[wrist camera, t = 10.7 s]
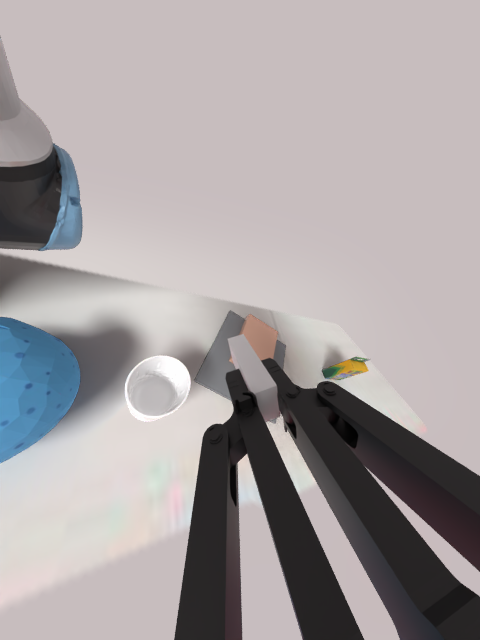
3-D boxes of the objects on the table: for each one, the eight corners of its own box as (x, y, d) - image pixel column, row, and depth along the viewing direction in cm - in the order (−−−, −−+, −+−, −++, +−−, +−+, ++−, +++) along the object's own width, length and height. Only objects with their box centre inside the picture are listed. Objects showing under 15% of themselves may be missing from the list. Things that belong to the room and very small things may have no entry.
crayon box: (324, 379, 54) (360, 366, 46) (321, 369, 56) (355, 355, 48) (339, 380, 57) (375, 369, 49) (336, 371, 59) (370, 358, 51)
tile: (233, 356, 39) (249, 313, 49) (228, 361, 40) (245, 318, 51) (269, 378, 40) (278, 331, 51) (263, 381, 42) (272, 335, 52)
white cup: (150, 367, 32) (157, 344, 25) (184, 392, 33) (201, 376, 26) (111, 407, 27) (107, 392, 20) (154, 436, 27) (164, 431, 20)
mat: (193, 380, 35) (194, 380, 34) (229, 311, 50) (230, 310, 50) (274, 423, 38) (275, 423, 38) (284, 346, 53) (285, 345, 53)
